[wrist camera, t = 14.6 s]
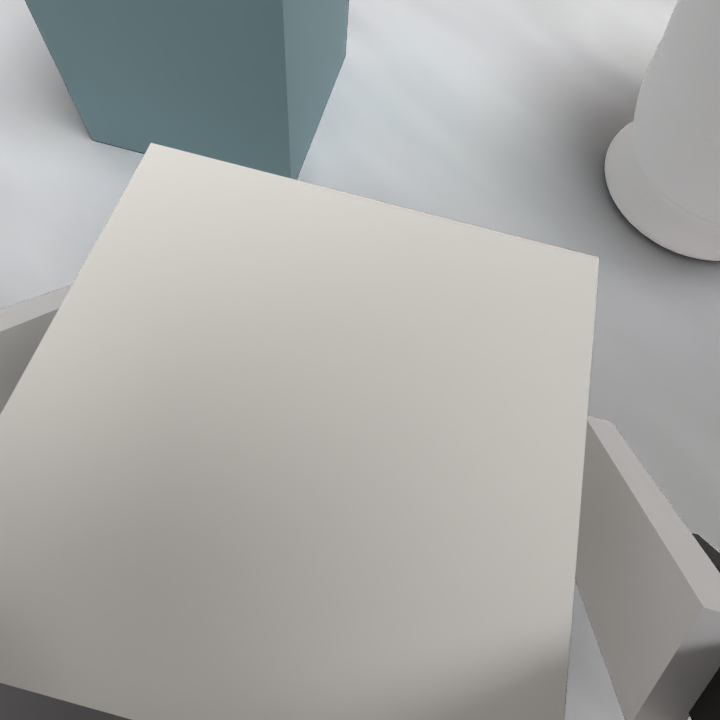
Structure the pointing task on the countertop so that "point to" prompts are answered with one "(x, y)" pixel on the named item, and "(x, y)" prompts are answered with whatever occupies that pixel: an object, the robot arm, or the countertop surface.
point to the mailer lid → (298, 461)
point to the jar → (675, 139)
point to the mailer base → (200, 73)
